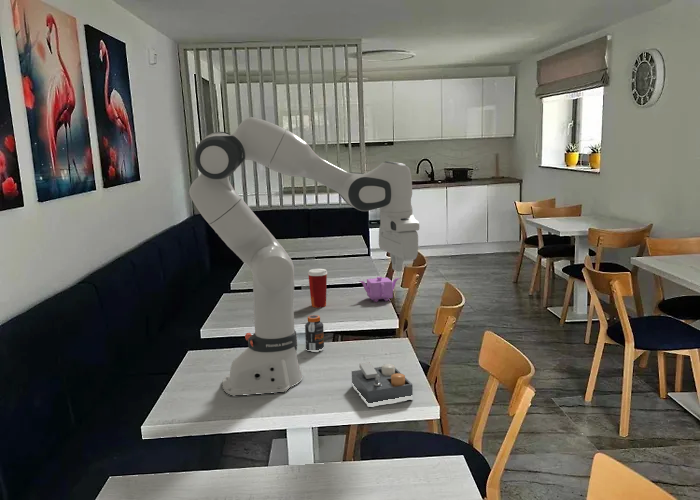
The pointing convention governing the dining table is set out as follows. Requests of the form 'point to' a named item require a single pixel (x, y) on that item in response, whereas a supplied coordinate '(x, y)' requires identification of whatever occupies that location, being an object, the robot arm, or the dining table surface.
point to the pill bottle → (314, 333)
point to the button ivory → (388, 369)
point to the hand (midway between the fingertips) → (397, 270)
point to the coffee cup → (318, 287)
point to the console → (380, 386)
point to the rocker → (368, 370)
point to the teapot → (379, 288)
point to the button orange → (397, 379)
